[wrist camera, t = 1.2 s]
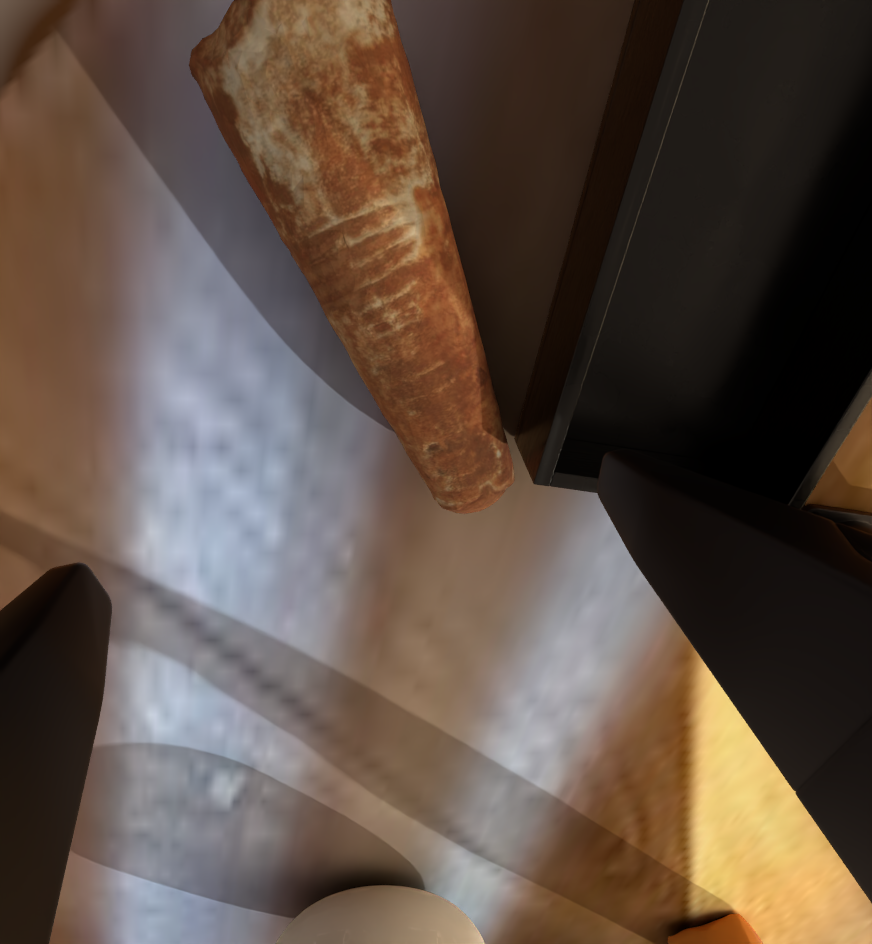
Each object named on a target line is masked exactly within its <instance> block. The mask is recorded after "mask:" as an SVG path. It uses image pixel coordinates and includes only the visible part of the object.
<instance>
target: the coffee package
mask: <svg viewBox="0 0 872 944" xmlns="http://www.w3.org/2000/svg"><path fill="white" fill-rule="evenodd" d="M668 944H763V943H762V941H761V939H760V938H759V936H758V935H757V933H756V932H755V931H754V929H753V928H752V927H751V926H750V925H749V923H747V921H746V920H745V919H744V918H743V917H742V916H741V915H739V914H729V915H727V916H725V917H723V918H721V919H718V920H715V921H713V922H710V923H707V924H705V925H702V926H698V927H694V928H687V929H684V930H682V931H680V932H679V933H677V934H675V935H674V936H669V937H668Z"/></svg>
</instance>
